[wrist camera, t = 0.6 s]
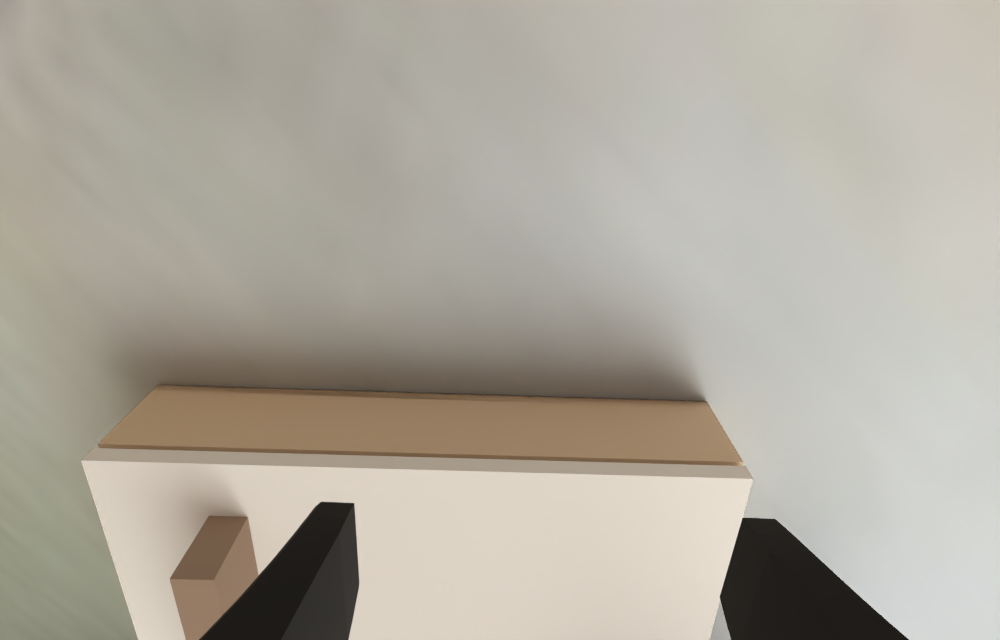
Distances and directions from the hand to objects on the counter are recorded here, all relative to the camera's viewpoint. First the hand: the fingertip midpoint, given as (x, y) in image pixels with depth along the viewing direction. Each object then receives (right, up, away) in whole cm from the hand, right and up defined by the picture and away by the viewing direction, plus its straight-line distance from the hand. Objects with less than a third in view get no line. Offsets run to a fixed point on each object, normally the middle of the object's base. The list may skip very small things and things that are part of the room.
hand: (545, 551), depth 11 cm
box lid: (-3, -5, +10) cm, 11 cm away
